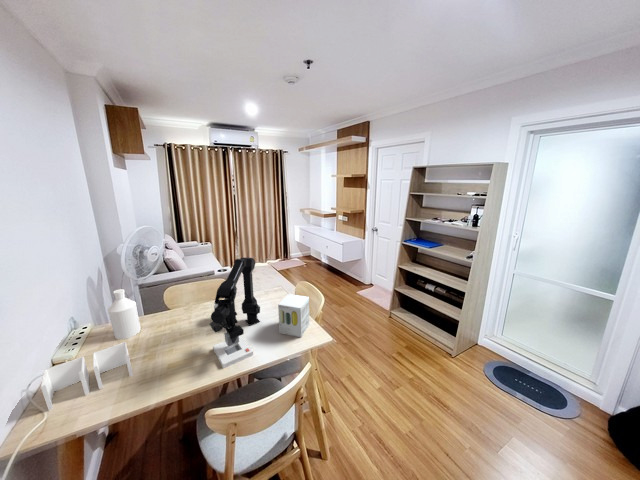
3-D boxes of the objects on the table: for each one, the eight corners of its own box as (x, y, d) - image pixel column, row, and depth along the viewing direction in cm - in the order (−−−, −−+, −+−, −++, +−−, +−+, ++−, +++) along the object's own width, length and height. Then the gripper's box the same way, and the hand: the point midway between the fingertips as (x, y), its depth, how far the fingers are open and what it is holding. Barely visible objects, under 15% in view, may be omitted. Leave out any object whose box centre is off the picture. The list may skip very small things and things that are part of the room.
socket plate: (213, 349, 124) (212, 344, 123) (241, 338, 132) (240, 334, 131) (223, 368, 111) (222, 363, 111) (253, 355, 120) (252, 350, 119)
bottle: (141, 324, 144) (133, 284, 138) (141, 334, 135) (132, 292, 128) (115, 331, 138) (105, 289, 132) (113, 342, 129) (102, 298, 122)
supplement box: (278, 333, 136) (277, 304, 132) (288, 320, 148) (287, 293, 144) (301, 337, 132) (300, 308, 128) (309, 324, 144) (309, 296, 140)
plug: (225, 341, 121) (224, 331, 119) (235, 337, 124) (234, 327, 122) (228, 346, 117) (227, 336, 116) (239, 342, 120) (238, 331, 119)
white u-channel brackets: (130, 362, 115) (125, 341, 113) (133, 376, 107) (128, 354, 105) (52, 392, 100) (45, 369, 97) (49, 411, 92) (40, 386, 89)
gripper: (205, 308, 119) (208, 336, 123) (216, 326, 104) (220, 358, 108) (228, 301, 125) (231, 328, 129) (242, 317, 111) (245, 347, 115)
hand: (231, 340), depth 120 cm, fingers closed on plug, 4 cm apart
